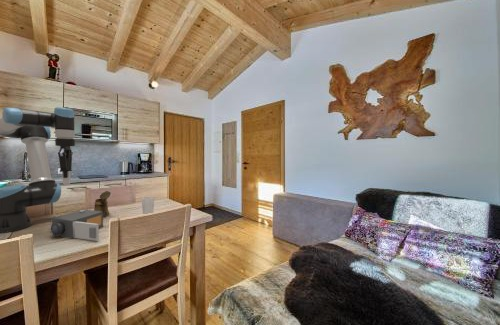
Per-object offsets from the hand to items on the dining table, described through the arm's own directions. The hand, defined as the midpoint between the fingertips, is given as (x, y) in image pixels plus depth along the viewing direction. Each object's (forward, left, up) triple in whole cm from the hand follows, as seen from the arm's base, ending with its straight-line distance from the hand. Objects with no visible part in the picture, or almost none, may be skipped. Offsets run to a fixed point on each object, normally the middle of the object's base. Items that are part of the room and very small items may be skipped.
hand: (66, 183), depth 107 cm
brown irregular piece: (-8, +26, -27) cm, 38 cm away
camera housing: (+2, +3, -26) cm, 27 cm away
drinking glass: (+26, +28, -27) cm, 47 cm away
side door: (+17, -4, -26) cm, 31 cm away
